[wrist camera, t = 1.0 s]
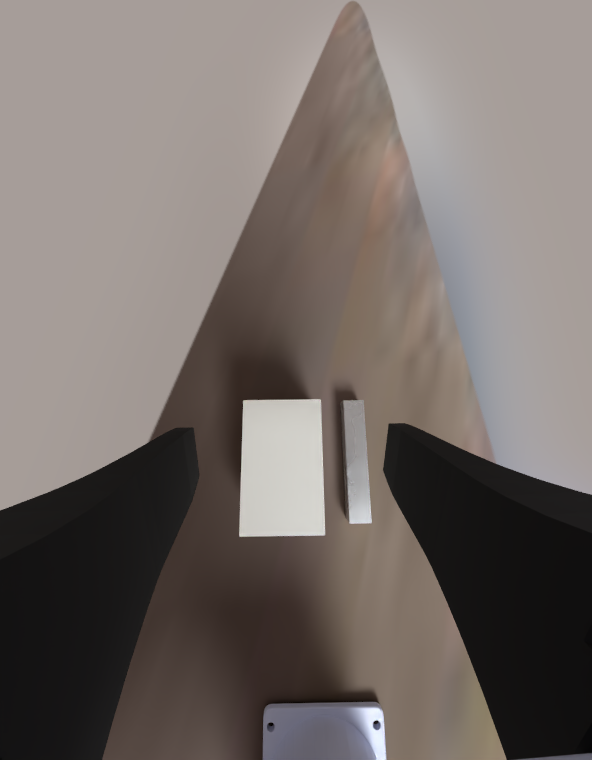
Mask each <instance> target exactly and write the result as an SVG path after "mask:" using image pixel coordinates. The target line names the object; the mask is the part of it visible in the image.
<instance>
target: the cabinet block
mask: <svg viewBox="0 0 592 760" xmlns="http://www.w3.org/2000/svg"><path fill="white" fill-rule="evenodd" d="M317 535H325V517H324V485H323V453H322V422H321V399H308V400H243V426H242V460H241V494H240V528H239V537H248V536H317Z"/></svg>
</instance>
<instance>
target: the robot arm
mask: <svg viewBox="0 0 592 760" xmlns="http://www.w3.org/2000/svg"><path fill="white" fill-rule="evenodd" d="M383 471H384V474H385V477H386V479H387V482H388V485H389V487H390V490H391V492H392V495H393V496H394V498H395V500H396V502H397V504H398V506H399V508H400V509H401V511H402V513H403V515H404V517H405V518H406V520H407V522H408V524H409V526H410V527H411V529H412V531H413V533H414V535H415V536H416V538H417V540H418V542H419V544H420V545H421V547H422V549H423V551H424V553H425V555H426V557H427V559H428V561H429V563H430V565H431V566H432V569H433V571H434V573H435V576H436V578H437V580H438V582H439V585H440V587H441V589H442V591H443V594H444V596H445V598H446V601H447V603H448V605H449V608H450V610H451V613H452V615H453V618H454V620H455V622H456V625H457V627H458V630H459V632H460V635H461V637H462V639H463V642H464V645H465V647H466V650H467V652H468V655H469V658H470V660H471V663H472V665H473V668H474V671H475V673H476V676H477V678H478V681H479V684H480V686H481V689H482V691H483V694H484V697H485V700H486V702H487V705H488V708H489V711H490V714H491V716H492V719H493V722H494V725H495V727H496V730H497V733H498V736H499V739H500V741H501V744H502V747H503V750H504V753H505V755H506V758H507V760H592V495H590V494H586V493H582V492H578V491H575V490H572V489H568V488H565V487H562V486H559V485H555V484H552V483H548V482H545V481H542V480H539V479H536V478H533V477H530V476H527V475H525V474H522V473H519V472H516V471H514V470H511V469H508V468H505V467H503V466H500V465H498V464H495V463H493V462H490V461H488V460H485V459H483V458H481V457H478V456H476V455H474V454H471V453H469V452H467V451H465V450H463V449H460V448H458V447H456V446H454V445H452V444H450V443H448V442H446V441H443V440H441V439H439V438H437V437H435V436H433V435H431V434H429V433H427V432H425V431H423V430H420V429H418V428H416V427H414V426H411V425H408V424H405V423H397V424H389V426H388V434H387V443H386V451H385V460H384V468H383ZM198 479H199V468H198V460H197V452H196V444H195V436H194V428H175V429H173V430H170V431H168V432H167V433H165V434H163V435H161V436H159V437H157V438H156V439H154V440H152V441H150V442H149V443H147V444H145V445H143V446H142V447H140V448H138V449H136V450H135V451H133V452H131V453H130V454H128V455H126V456H124V457H122V458H120V459H118V460H116V461H114V462H112V463H111V464H109V465H107V466H105V467H103V468H101V469H99V470H97V471H95V472H93V473H91V474H89V475H87V476H85V477H83V478H80V479H78V480H76V481H74V482H71V483H69V484H67V485H65V486H63V487H60V488H58V489H55V490H53V491H51V492H48V493H46V494H43V495H40V496H38V497H35V498H33V499H30V500H27V501H24V502H22V503H19V504H17V505H14V506H12V507H9V508H6V509H3V510H1V511H0V760H102V757H103V754H104V750H105V747H106V743H107V740H108V736H109V732H110V729H111V725H112V722H113V718H114V715H115V711H116V708H117V705H118V701H119V698H120V695H121V691H122V688H123V685H124V681H125V678H126V675H127V671H128V668H129V665H130V661H131V658H132V655H133V652H134V649H135V646H136V643H137V639H138V636H139V633H140V630H141V627H142V624H143V621H144V618H145V615H146V612H147V609H148V606H149V603H150V600H151V597H152V594H153V591H154V588H155V586H156V583H157V580H158V577H159V575H160V572H161V570H162V567H163V565H164V563H165V560H166V558H167V556H168V554H169V551H170V549H171V547H172V545H173V543H174V540H175V538H176V536H177V534H178V531H179V529H180V527H181V525H182V523H183V520H184V518H185V516H186V514H187V511H188V509H189V507H190V504H191V502H192V499H193V496H194V493H195V490H196V486H197V482H198ZM376 720H377V721H379V722H378V723H377V724H373V722H374V721H376ZM270 722H272V723H273V724H274V725H273V726H269V725H268V723H270ZM263 760H386V746H385V730H384V715H383V711H382V708H381V706H380V704H378V703H377V702H338V703H283V704H268V705H267V706H266V707H265V709H264V716H263Z"/></svg>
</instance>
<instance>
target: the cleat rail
mask: <svg viewBox="0 0 592 760" xmlns="http://www.w3.org/2000/svg"><path fill="white" fill-rule="evenodd" d="M340 404H341V425H342V446H343V468H344V489H345V510H346V519H347V520H348V522H349V523H372V522H371V506H370V491H369V476H368V460H367V445H366V430H365V414H364V400H343V401H342V402H341V403H340Z"/></svg>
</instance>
